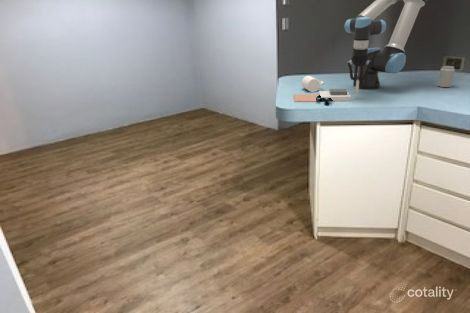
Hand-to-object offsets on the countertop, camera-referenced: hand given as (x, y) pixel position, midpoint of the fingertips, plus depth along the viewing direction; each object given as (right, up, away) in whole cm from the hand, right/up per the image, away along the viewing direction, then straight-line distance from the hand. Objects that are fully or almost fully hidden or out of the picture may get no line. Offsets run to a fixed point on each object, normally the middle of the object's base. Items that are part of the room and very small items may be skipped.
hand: (356, 92), depth 205 cm
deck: (-12, -3, +3) cm, 12 cm away
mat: (-27, -3, +5) cm, 27 cm away
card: (-10, -1, +2) cm, 10 cm away
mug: (-19, +5, +22) cm, 30 cm away
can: (+58, +6, +17) cm, 61 cm away
